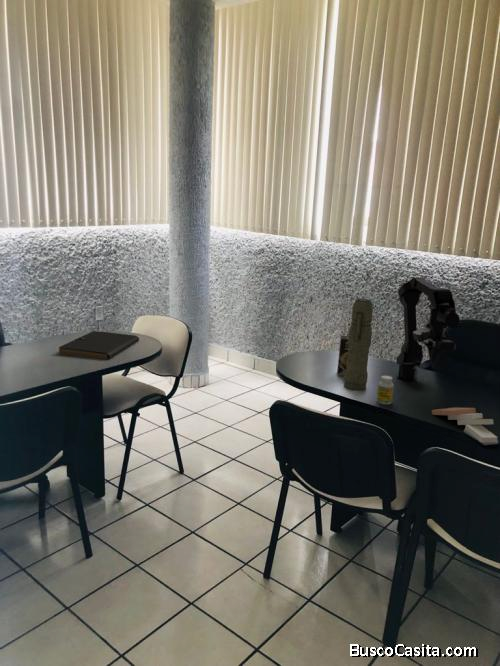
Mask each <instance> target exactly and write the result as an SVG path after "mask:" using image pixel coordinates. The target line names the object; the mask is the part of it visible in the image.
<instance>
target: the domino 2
mask: <svg viewBox="0 0 500 666" xmlns="http://www.w3.org/2000/svg"><path fill="white" fill-rule="evenodd" d="M472 419H484V416H483V413H481V412H480V413H478V412H476V413H470V414H461V415H452V416H451V415H447V420H448V421H449V420H450V421H452V420H453V421H454V420H455V421H457V420H472Z"/></svg>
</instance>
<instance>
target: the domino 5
mask: <svg viewBox="0 0 500 666" xmlns="http://www.w3.org/2000/svg"><path fill="white" fill-rule="evenodd" d="M463 433H465V434H466V435H468V436H469V437H471V438H472V439H474V440H476V441H477V442H479V443H481V444H482V445H483V446H489V445H490V446H491V445H498V444H499V440H497V442H480V441H479V440H478V439H477V438H475V437H474V436H473V435H472V434H470V433H469V432H468V431H467V430H465V428H464V429H463Z"/></svg>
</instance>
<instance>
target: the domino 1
mask: <svg viewBox="0 0 500 666" xmlns="http://www.w3.org/2000/svg"><path fill="white" fill-rule="evenodd" d="M470 413H477V411H476V408H475V407H447V408H446V407H445V408H438V409H432V410H431V415H433V416H448V415H451V416H452V415H461V414H470Z"/></svg>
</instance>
